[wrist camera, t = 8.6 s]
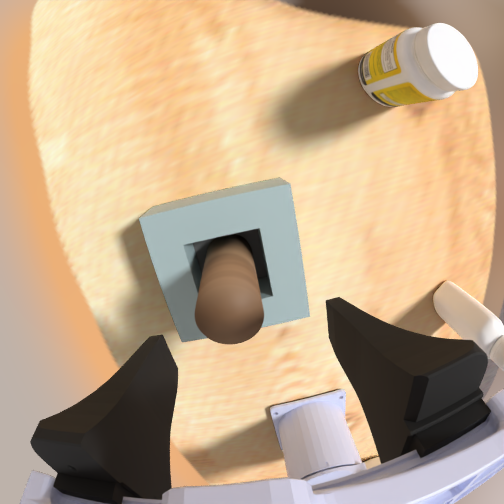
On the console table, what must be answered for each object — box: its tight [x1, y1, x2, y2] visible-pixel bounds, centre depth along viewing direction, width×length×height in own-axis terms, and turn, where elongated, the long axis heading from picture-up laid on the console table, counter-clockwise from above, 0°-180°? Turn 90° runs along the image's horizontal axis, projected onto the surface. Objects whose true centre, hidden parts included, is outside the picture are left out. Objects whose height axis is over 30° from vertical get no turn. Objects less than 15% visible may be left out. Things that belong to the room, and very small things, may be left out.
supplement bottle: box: [358, 23, 478, 107], centre depth 14 cm, size 5×5×8 cm
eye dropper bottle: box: [433, 281, 504, 371], centre depth 19 cm, size 4×6×12 cm
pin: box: [195, 234, 264, 344], centre depth 17 cm, size 3×3×8 cm
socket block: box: [139, 178, 310, 342], centre depth 20 cm, size 9×9×4 cm
